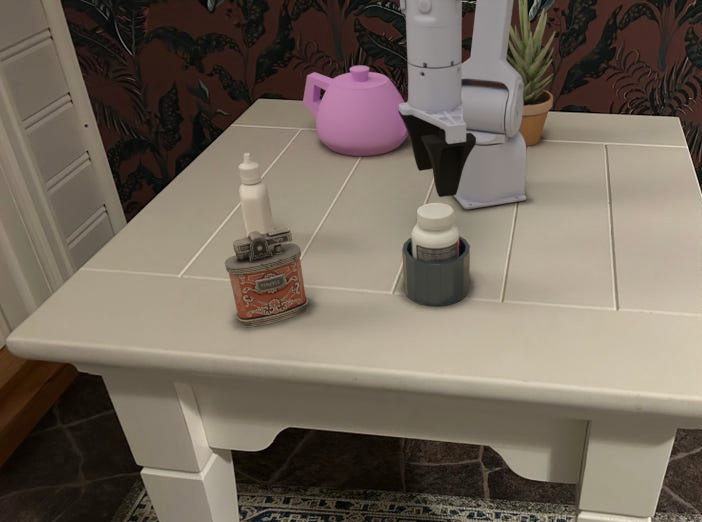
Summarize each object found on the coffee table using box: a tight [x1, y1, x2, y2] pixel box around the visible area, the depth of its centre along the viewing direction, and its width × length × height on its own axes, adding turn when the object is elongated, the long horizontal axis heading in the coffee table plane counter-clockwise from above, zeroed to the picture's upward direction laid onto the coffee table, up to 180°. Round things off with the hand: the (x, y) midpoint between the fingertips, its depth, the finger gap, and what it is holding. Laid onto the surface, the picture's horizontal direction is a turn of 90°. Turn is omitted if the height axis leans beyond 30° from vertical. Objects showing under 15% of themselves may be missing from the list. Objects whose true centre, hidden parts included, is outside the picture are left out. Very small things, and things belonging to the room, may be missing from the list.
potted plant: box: [506, 0, 556, 147], centre depth 116 cm, size 10×10×25 cm
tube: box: [401, 235, 471, 307], centre depth 85 cm, size 8×8×6 cm
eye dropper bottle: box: [238, 152, 275, 238], centre depth 92 cm, size 4×6×12 cm
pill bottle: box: [410, 202, 460, 263], centre depth 83 cm, size 5×5×10 cm
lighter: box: [224, 227, 310, 328], centre depth 79 cm, size 8×3×10 cm, turn 117°
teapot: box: [302, 64, 409, 157], centre depth 119 cm, size 22×16×12 cm
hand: (436, 181), depth 86 cm, fingers open, 7 cm apart
